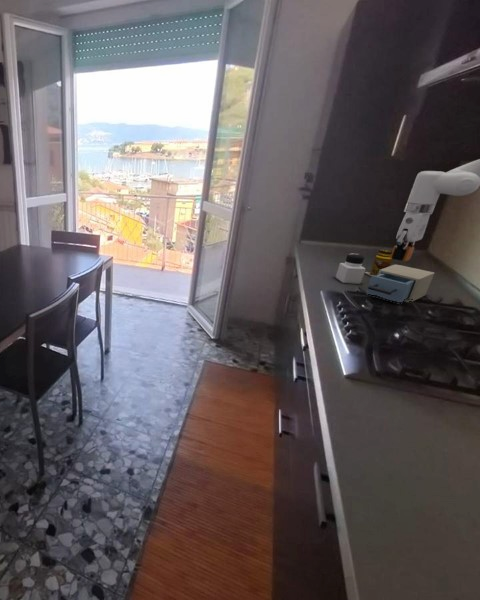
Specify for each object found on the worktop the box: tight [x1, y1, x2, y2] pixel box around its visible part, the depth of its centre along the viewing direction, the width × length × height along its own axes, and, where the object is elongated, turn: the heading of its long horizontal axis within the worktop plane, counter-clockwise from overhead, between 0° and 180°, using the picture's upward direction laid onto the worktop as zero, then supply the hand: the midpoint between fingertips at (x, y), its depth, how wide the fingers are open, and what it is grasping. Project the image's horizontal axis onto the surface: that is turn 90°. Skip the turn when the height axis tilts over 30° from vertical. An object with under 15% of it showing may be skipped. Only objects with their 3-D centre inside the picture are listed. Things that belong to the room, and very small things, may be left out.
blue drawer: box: [365, 273, 416, 305], centre depth 137 cm, size 20×11×8 cm, turn 121°
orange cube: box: [390, 245, 415, 262], centre depth 131 cm, size 5×5×5 cm
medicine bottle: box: [335, 253, 367, 285], centre depth 155 cm, size 7×7×12 cm
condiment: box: [364, 248, 394, 277], centre depth 162 cm, size 7×8×12 cm
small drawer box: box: [378, 264, 435, 303], centre depth 142 cm, size 15×13×10 cm
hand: (400, 258), depth 132 cm, fingers closed on orange cube, 4 cm apart
